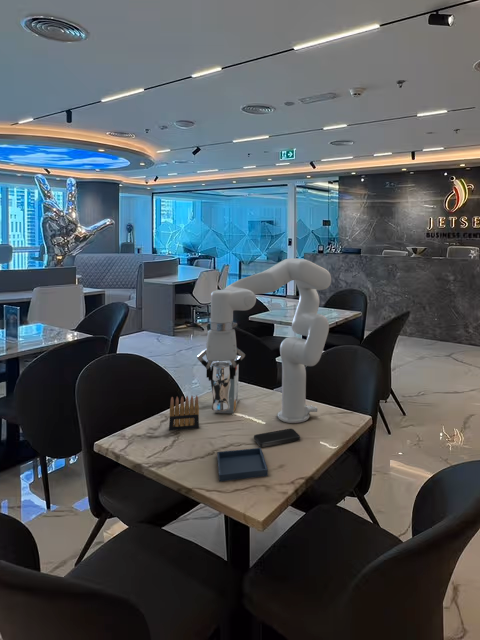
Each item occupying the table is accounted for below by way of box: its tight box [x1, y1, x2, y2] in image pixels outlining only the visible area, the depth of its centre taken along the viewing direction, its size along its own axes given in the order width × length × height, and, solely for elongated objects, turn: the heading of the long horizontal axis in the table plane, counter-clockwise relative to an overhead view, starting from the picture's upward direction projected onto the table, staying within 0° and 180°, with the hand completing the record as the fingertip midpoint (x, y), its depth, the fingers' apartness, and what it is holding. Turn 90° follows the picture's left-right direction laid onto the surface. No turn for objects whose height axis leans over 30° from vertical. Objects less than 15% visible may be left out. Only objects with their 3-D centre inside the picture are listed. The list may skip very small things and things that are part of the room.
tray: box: [216, 447, 269, 482], centre depth 136 cm, size 14×14×2 cm
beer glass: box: [210, 361, 231, 412], centre depth 149 cm, size 7×7×15 cm
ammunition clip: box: [168, 395, 200, 431], centre depth 162 cm, size 11×2×12 cm, turn 103°
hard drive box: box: [214, 354, 240, 414], centre depth 184 cm, size 16×8×20 cm, turn 2°
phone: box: [253, 428, 301, 448], centre depth 155 cm, size 8×1×15 cm
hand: (221, 378), depth 149 cm, fingers closed on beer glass, 7 cm apart
